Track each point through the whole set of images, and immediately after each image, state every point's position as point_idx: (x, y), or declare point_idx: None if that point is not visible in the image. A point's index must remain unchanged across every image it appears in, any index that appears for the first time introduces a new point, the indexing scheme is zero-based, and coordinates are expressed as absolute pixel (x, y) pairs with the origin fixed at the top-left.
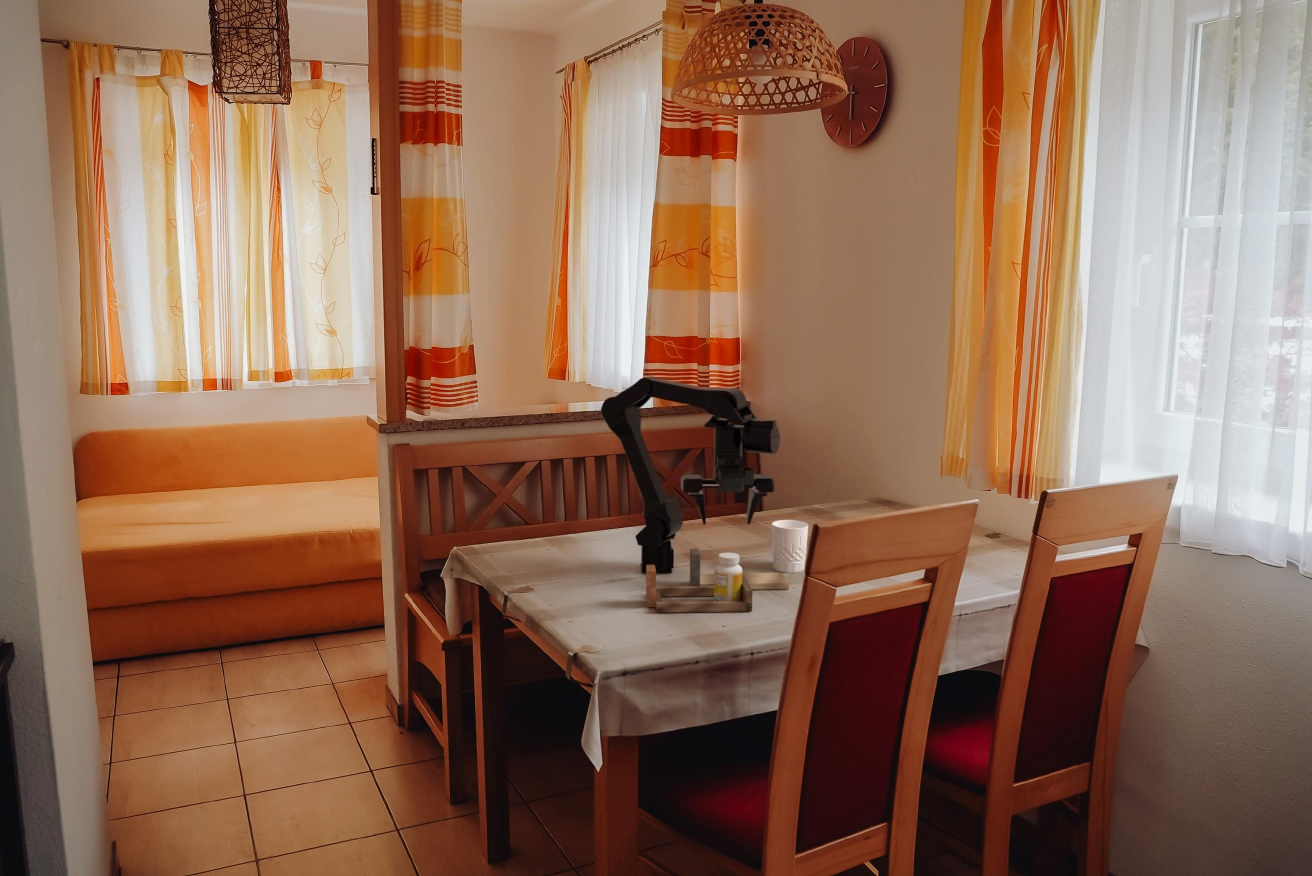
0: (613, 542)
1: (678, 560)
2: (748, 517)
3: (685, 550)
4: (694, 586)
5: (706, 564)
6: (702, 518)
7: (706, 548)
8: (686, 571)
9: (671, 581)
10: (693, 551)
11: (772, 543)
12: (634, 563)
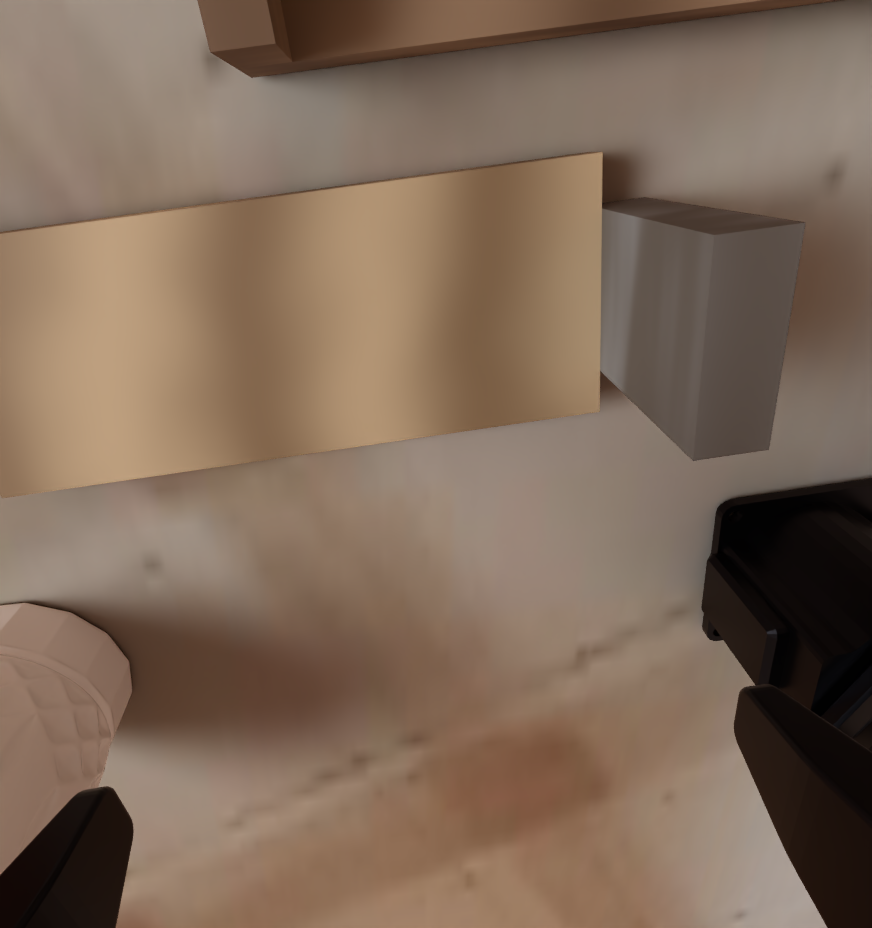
0: None
1: (639, 709)
2: (38, 897)
3: (587, 828)
4: (677, 4)
5: (504, 674)
6: (865, 754)
7: (490, 861)
8: (624, 556)
9: None
10: (762, 353)
11: (67, 795)
12: None
